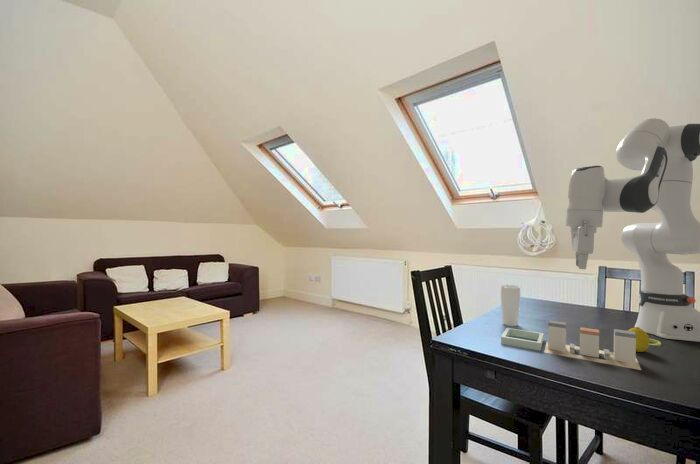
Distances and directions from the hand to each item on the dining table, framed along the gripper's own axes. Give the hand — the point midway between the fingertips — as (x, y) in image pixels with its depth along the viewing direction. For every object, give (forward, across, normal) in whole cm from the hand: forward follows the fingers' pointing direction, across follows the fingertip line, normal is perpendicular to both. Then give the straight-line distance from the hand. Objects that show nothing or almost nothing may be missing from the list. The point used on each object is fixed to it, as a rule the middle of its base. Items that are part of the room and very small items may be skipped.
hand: (580, 267), depth 100 cm
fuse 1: (+25, 0, +4) cm, 26 cm away
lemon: (+25, +10, -16) cm, 31 cm away
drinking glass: (+26, +21, +19) cm, 39 cm away
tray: (+26, +2, +14) cm, 30 cm away
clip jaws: (+26, 0, -4) cm, 26 cm away
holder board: (+26, 0, -4) cm, 26 cm away
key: (+25, +26, -21) cm, 41 cm away
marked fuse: (+26, 0, -4) cm, 26 cm away
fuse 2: (+24, -1, -11) cm, 27 cm away
